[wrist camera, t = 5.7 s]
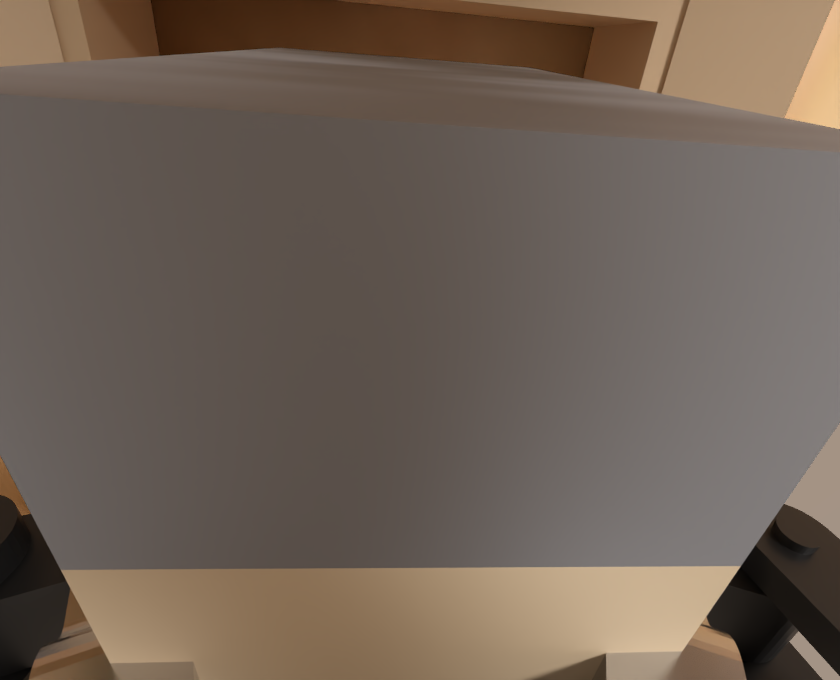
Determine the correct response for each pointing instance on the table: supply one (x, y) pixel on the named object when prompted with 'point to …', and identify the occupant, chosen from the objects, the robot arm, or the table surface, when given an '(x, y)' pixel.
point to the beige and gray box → (404, 356)
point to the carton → (553, 3)
